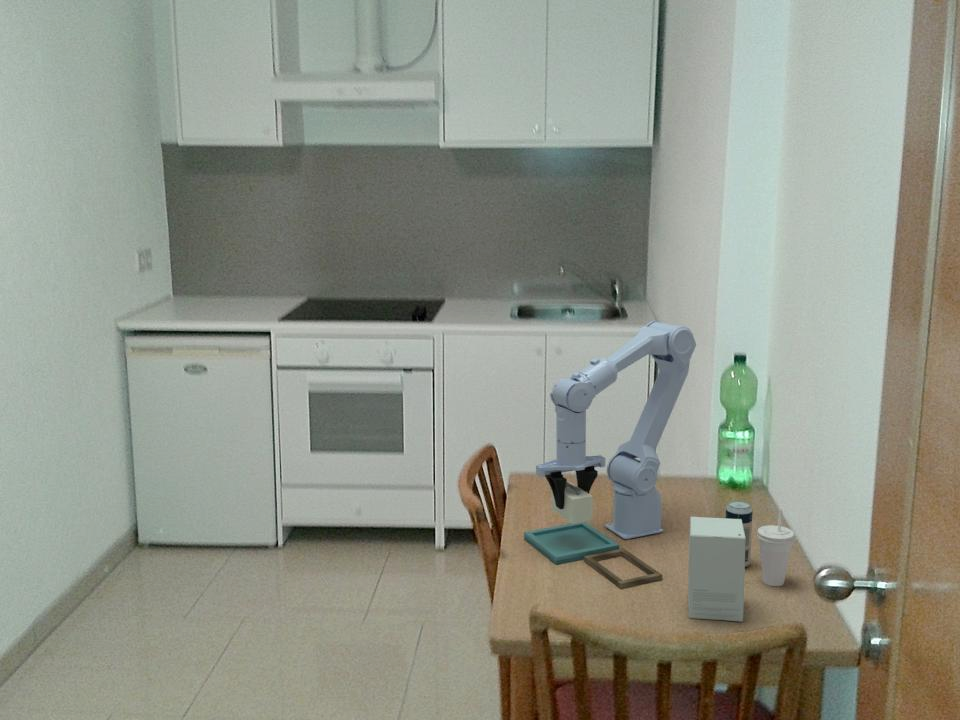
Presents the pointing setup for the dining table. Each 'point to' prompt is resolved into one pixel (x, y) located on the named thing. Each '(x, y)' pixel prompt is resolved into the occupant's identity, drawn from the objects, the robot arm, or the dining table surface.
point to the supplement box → (716, 569)
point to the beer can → (745, 513)
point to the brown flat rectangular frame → (624, 553)
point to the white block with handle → (575, 504)
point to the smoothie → (775, 551)
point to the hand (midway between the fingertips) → (570, 505)
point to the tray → (569, 542)
